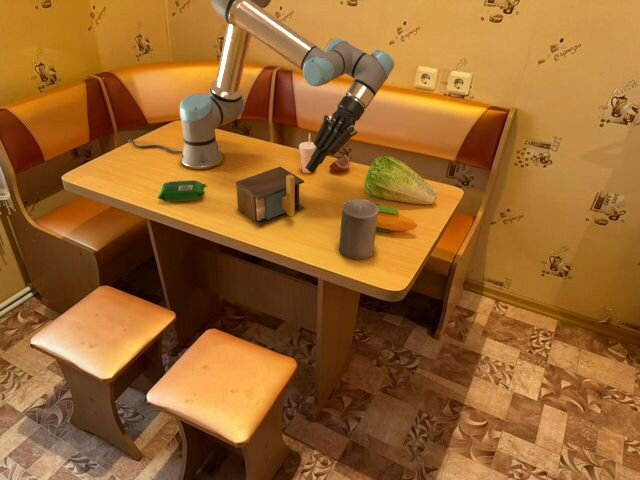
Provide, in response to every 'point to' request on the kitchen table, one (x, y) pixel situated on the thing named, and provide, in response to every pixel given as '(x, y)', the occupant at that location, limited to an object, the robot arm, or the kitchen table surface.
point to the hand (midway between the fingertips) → (309, 170)
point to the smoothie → (306, 153)
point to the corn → (392, 220)
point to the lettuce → (397, 182)
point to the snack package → (181, 191)
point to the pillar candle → (358, 229)
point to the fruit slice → (341, 163)
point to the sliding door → (281, 200)
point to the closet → (264, 193)
